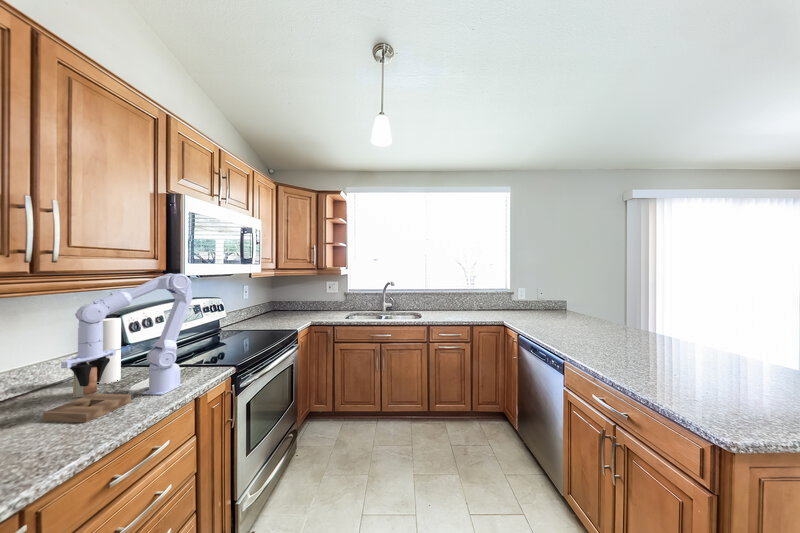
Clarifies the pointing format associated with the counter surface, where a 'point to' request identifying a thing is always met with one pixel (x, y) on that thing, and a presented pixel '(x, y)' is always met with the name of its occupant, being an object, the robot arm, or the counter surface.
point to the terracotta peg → (91, 382)
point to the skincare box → (78, 388)
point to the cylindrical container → (112, 342)
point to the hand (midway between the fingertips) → (90, 383)
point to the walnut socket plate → (87, 408)
